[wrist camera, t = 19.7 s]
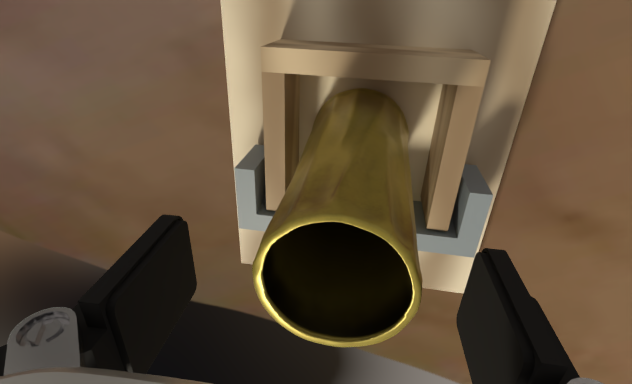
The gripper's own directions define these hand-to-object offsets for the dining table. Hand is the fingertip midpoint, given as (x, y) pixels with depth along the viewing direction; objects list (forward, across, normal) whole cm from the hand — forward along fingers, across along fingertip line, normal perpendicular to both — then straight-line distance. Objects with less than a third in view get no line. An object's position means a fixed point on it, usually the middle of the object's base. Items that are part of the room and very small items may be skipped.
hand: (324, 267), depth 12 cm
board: (+16, -1, +2) cm, 16 cm away
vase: (+14, -1, 0) cm, 14 cm away
